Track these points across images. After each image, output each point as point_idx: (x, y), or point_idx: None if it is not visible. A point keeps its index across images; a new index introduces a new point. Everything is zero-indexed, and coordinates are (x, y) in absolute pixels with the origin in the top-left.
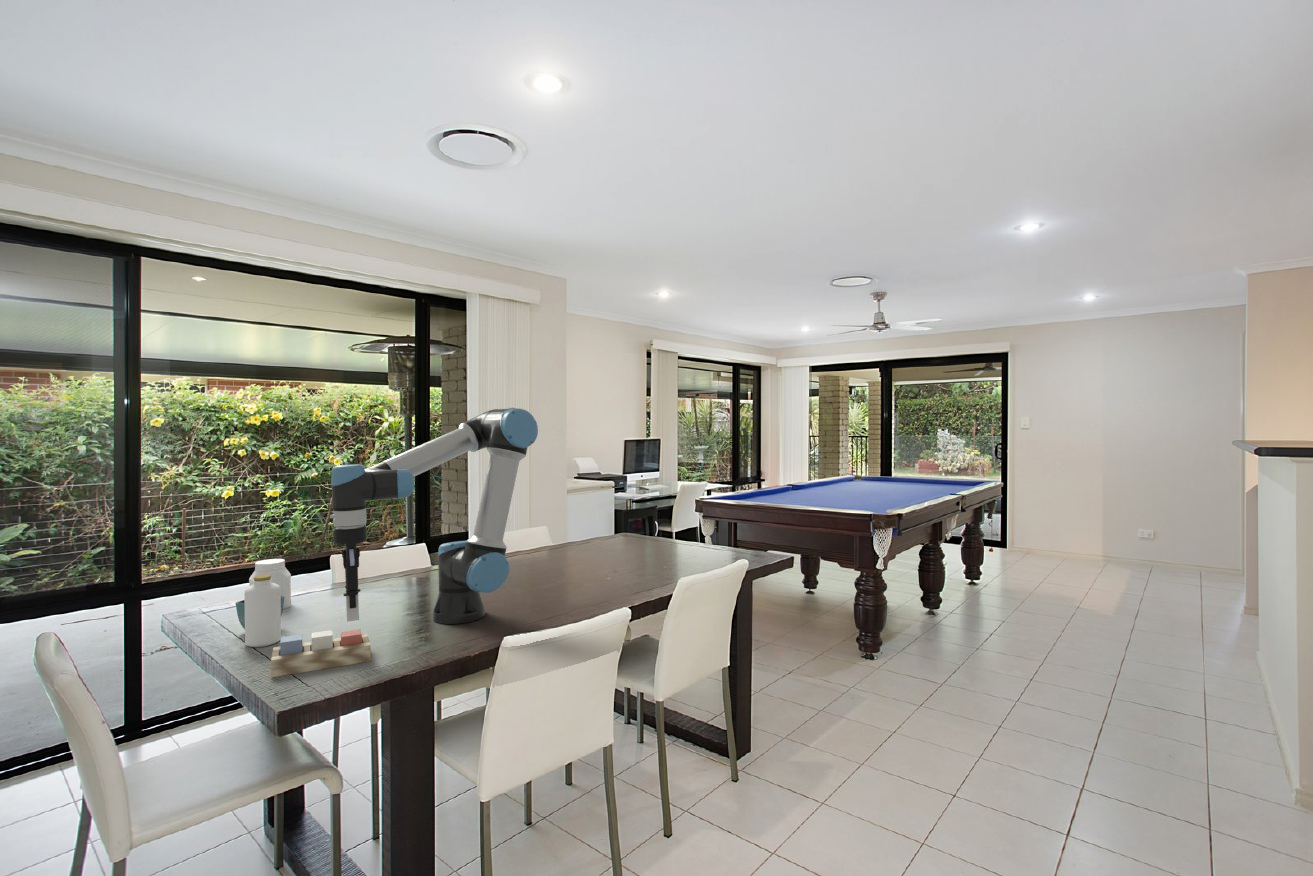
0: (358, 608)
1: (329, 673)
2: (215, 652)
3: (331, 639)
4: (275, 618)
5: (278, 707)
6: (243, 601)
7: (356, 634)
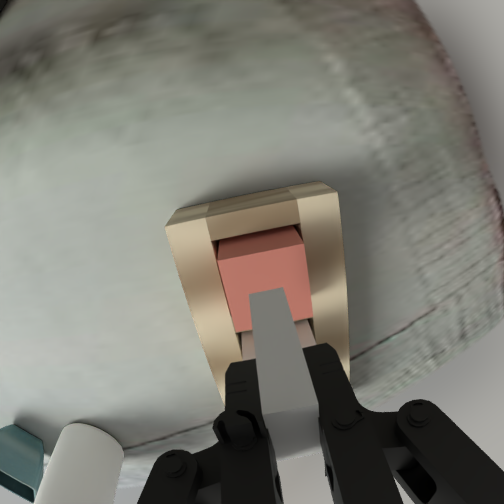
0: (295, 327)
1: (376, 285)
2: (143, 480)
3: (314, 343)
4: (86, 472)
5: (492, 327)
6: (22, 495)
7: (300, 265)
